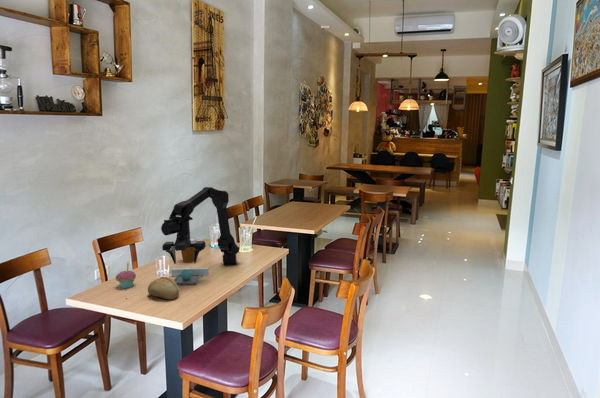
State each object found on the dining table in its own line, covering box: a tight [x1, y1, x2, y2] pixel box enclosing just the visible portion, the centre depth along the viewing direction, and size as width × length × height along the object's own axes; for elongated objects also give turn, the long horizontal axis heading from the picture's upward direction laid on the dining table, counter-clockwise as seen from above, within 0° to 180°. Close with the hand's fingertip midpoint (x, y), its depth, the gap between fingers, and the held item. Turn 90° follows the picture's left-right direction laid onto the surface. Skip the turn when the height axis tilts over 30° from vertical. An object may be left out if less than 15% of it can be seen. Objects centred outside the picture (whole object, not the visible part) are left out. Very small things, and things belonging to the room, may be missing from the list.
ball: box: [181, 269, 192, 280], centre depth 210 cm, size 5×5×5 cm
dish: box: [173, 274, 202, 286], centre depth 210 cm, size 11×11×1 cm
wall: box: [170, 267, 210, 277], centre depth 217 cm, size 18×1×4 cm, turn 91°
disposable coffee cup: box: [180, 236, 198, 264], centre depth 240 cm, size 10×10×12 cm
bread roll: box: [147, 276, 180, 300], centre depth 191 cm, size 10×15×8 cm, turn 65°
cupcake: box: [115, 262, 137, 289], centre depth 203 cm, size 9×8×12 cm
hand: (185, 263), depth 208 cm, fingers open, 9 cm apart
